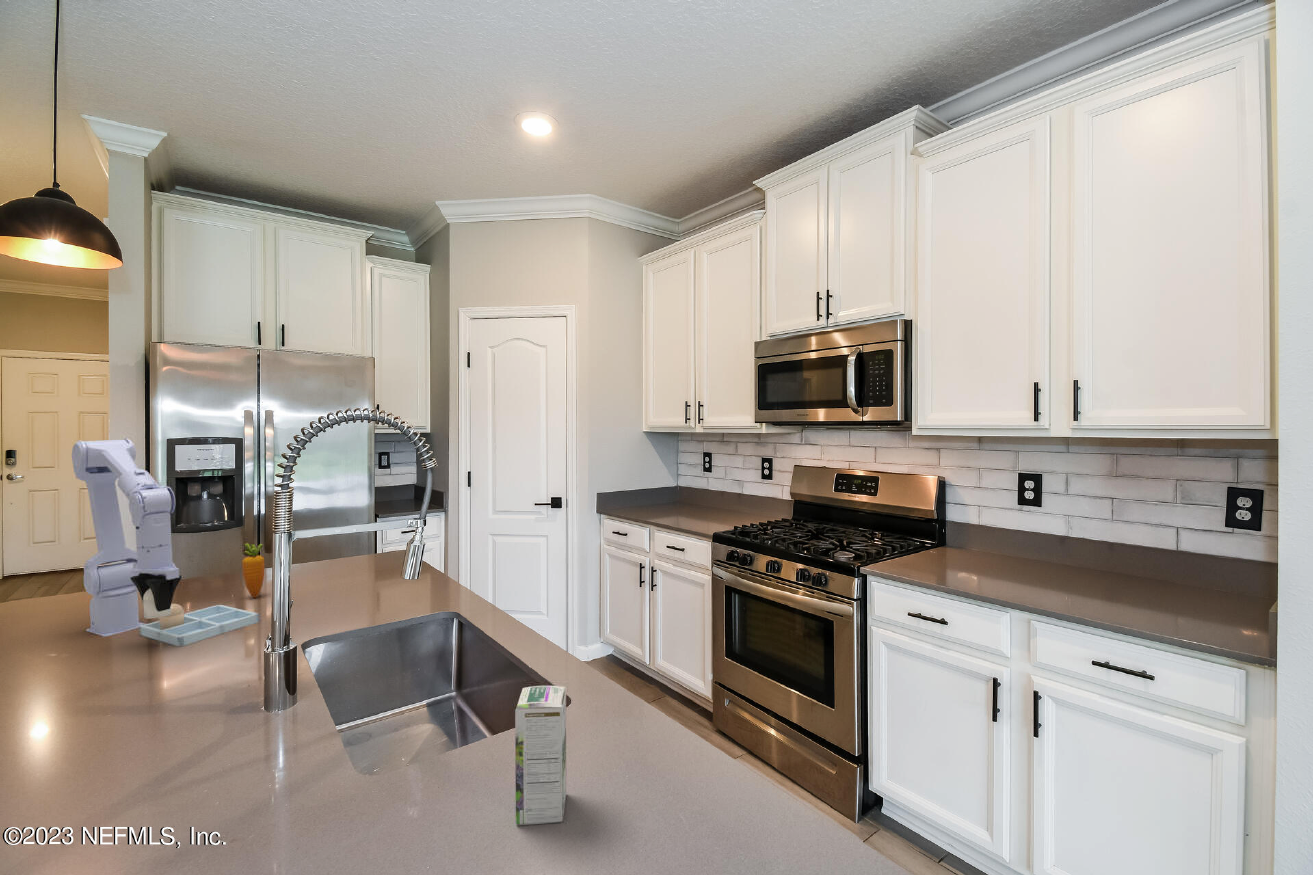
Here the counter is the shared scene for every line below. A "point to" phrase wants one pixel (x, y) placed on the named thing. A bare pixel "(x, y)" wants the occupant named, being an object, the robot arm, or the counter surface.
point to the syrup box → (540, 755)
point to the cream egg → (152, 607)
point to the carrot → (253, 570)
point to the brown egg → (172, 618)
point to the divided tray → (201, 625)
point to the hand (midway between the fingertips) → (157, 608)
